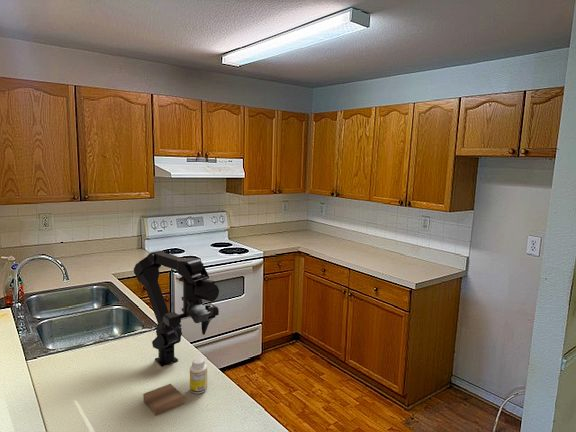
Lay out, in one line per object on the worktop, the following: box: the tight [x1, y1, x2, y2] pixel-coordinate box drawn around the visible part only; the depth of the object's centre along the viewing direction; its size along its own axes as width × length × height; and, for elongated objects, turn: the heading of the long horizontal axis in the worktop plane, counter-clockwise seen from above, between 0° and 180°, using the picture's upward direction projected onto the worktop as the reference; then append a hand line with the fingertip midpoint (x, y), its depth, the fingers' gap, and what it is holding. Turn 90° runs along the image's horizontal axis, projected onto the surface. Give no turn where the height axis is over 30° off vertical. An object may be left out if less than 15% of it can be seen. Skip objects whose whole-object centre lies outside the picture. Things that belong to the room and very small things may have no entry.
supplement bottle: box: [189, 357, 208, 394], centre depth 130 cm, size 6×6×10 cm
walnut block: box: [142, 383, 185, 416], centre depth 123 cm, size 9×9×3 cm
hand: (191, 337), depth 140 cm, fingers open, 9 cm apart
